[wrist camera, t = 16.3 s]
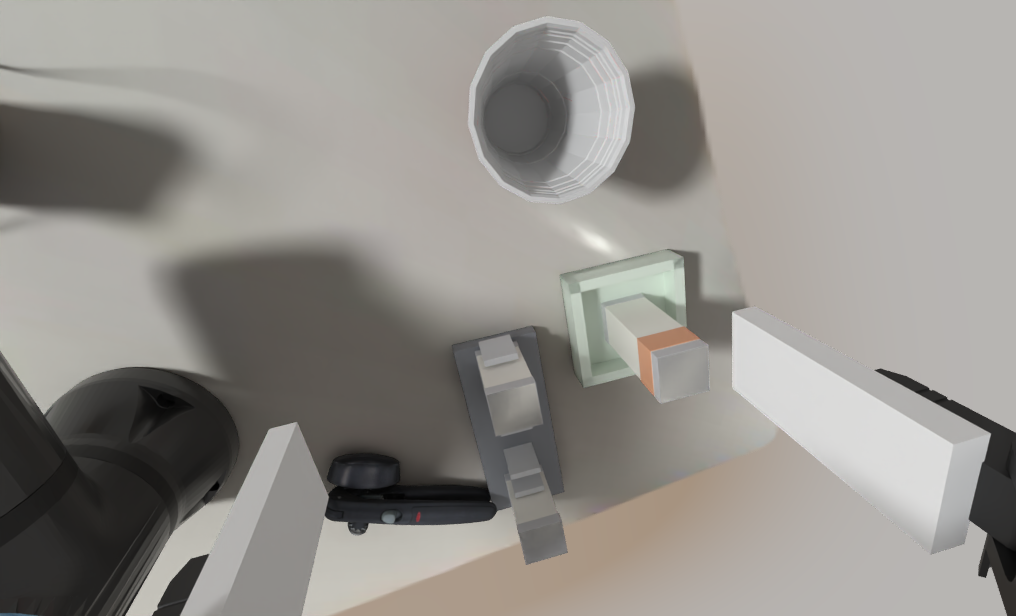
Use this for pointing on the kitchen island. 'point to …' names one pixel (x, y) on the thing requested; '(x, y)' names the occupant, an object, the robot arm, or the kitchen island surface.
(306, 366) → the kitchen island surface
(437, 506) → the can opener
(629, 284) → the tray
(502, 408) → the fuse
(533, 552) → the grey block
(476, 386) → the block
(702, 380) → the block
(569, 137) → the plastic cup
